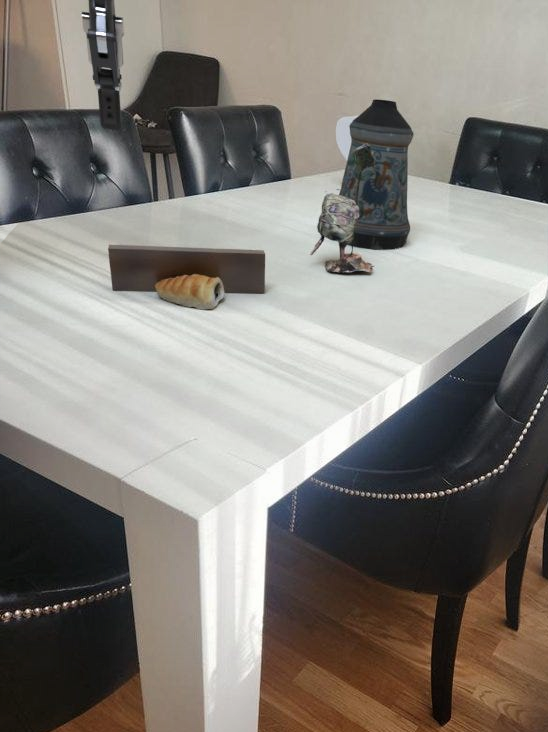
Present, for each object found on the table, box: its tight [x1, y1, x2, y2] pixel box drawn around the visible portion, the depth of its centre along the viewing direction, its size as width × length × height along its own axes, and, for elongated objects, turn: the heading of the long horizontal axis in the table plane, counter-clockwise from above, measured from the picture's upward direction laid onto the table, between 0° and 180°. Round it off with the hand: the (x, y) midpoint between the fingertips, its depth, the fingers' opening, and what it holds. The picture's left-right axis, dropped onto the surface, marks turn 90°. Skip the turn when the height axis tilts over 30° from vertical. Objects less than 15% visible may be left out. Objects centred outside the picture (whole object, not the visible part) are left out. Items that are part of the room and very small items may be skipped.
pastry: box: [155, 274, 226, 310], centre depth 93 cm, size 9×7×4 cm
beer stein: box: [338, 99, 415, 251], centre depth 129 cm, size 16×19×25 cm
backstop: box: [107, 244, 266, 294], centre depth 96 cm, size 22×2×6 cm, turn 104°
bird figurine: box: [309, 143, 376, 274], centre depth 109 cm, size 8×11×20 cm
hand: (111, 128), depth 74 cm, fingers closed
